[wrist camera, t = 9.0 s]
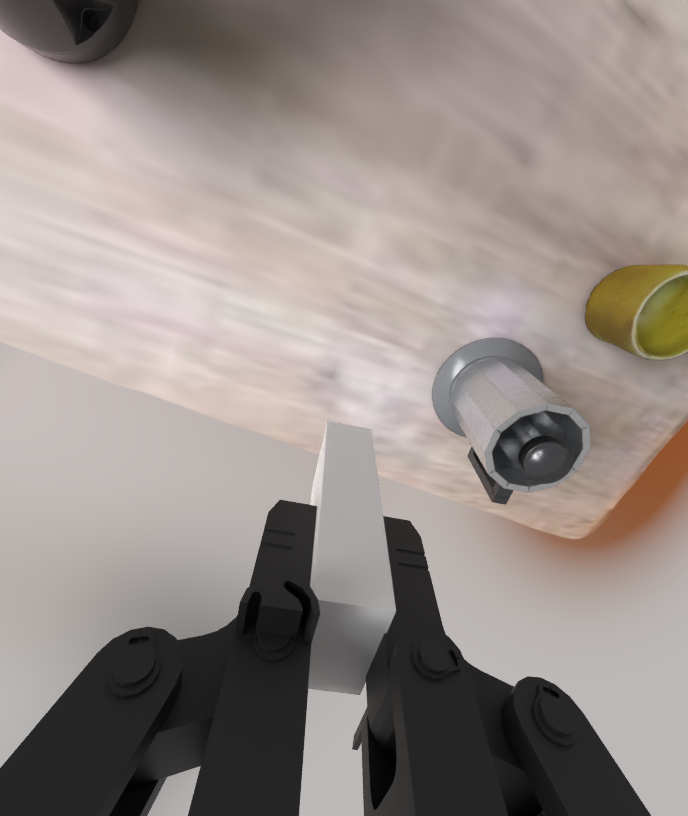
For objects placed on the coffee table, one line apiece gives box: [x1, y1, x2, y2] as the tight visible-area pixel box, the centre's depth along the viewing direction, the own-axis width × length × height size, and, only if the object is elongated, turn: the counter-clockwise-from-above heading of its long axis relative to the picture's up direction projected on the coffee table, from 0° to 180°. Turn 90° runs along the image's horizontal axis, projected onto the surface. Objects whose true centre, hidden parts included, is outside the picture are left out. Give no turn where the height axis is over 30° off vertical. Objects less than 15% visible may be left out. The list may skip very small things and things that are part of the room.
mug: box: [585, 265, 688, 360], centre depth 41 cm, size 12×10×10 cm
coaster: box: [432, 338, 543, 437], centre depth 49 cm, size 14×14×1 cm
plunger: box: [510, 420, 573, 484], centre depth 40 cm, size 7×7×13 cm
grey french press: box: [449, 356, 590, 504], centre depth 43 cm, size 13×10×14 cm
